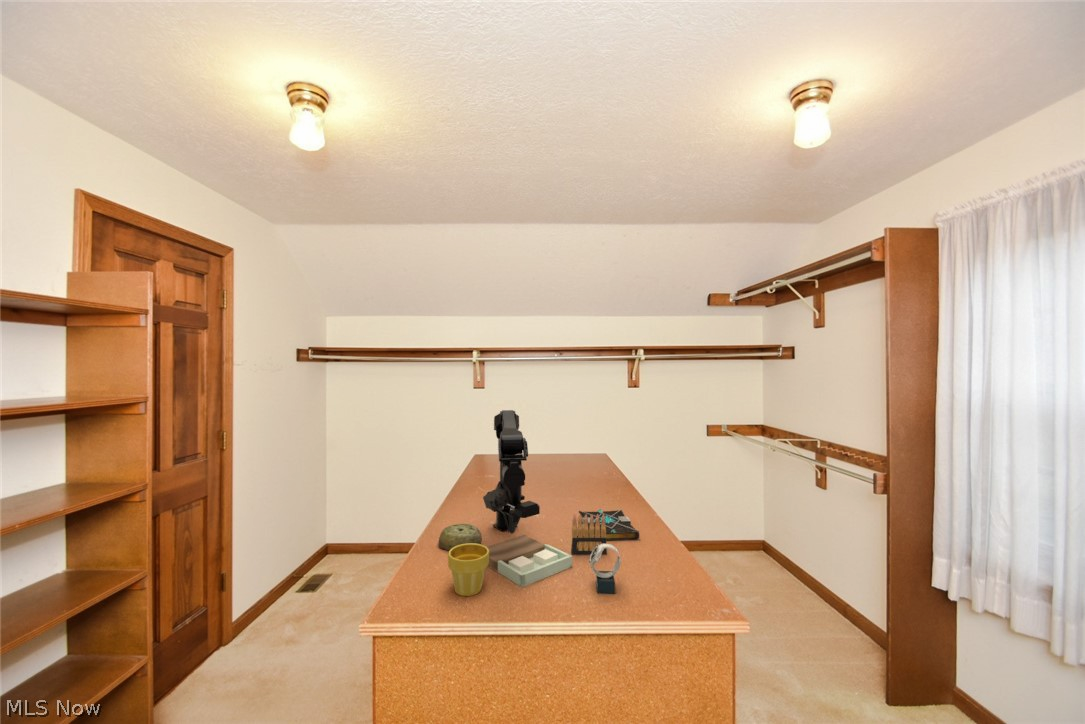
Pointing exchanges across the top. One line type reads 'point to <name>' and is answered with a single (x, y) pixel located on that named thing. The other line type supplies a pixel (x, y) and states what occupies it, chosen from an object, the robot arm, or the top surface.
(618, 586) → the top surface
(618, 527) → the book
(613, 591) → the watch
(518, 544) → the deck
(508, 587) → the top surface
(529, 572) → the tray
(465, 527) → the weight
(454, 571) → the plant pot
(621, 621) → the top surface
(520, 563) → the tile
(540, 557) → the tile
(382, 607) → the top surface
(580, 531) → the ammunition clip
